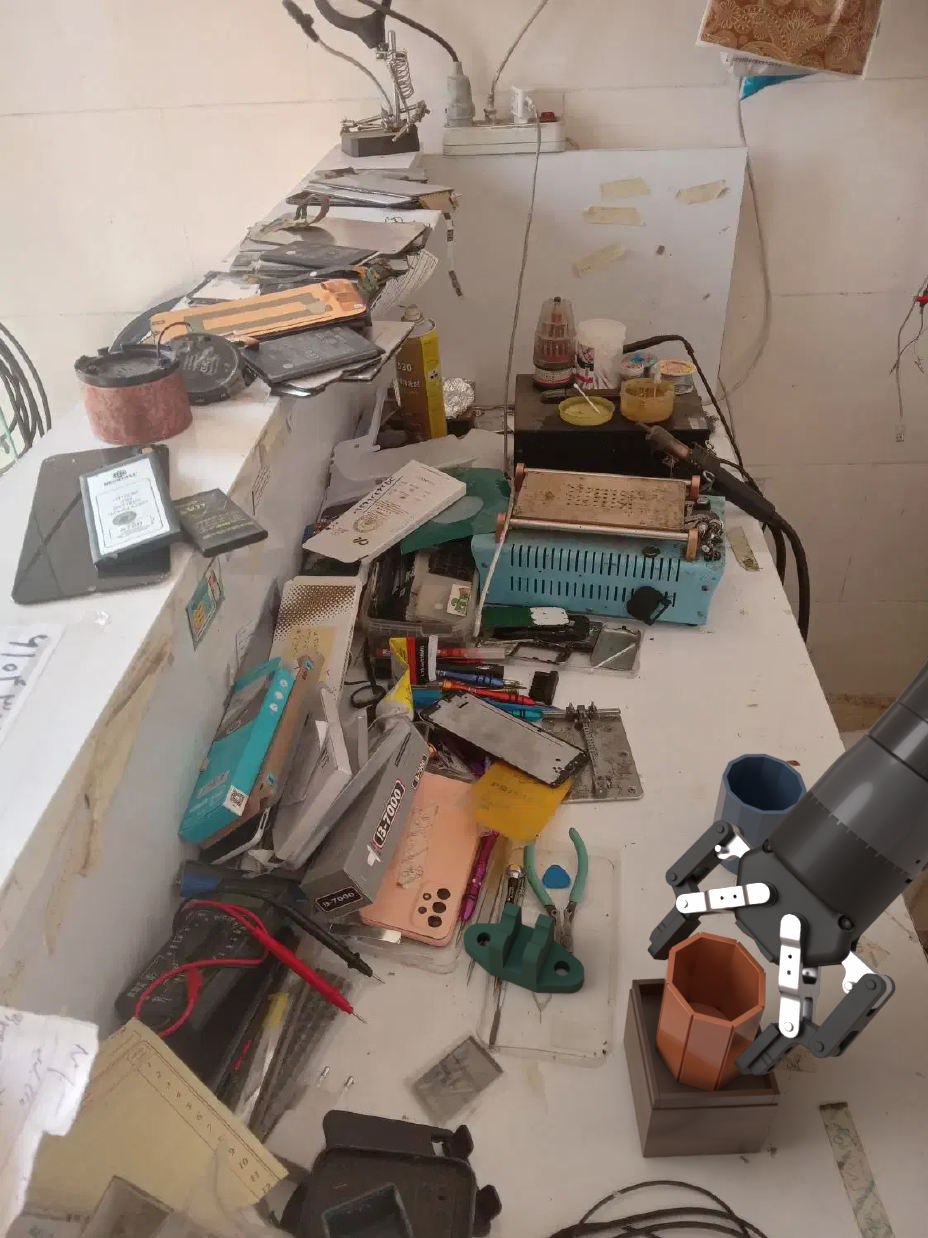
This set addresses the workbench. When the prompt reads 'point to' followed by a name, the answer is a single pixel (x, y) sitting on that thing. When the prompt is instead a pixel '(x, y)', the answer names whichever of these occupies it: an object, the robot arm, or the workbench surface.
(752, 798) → the slate cup
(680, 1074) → the terracotta cup
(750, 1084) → the box
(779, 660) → the workbench surface
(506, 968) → the mount
